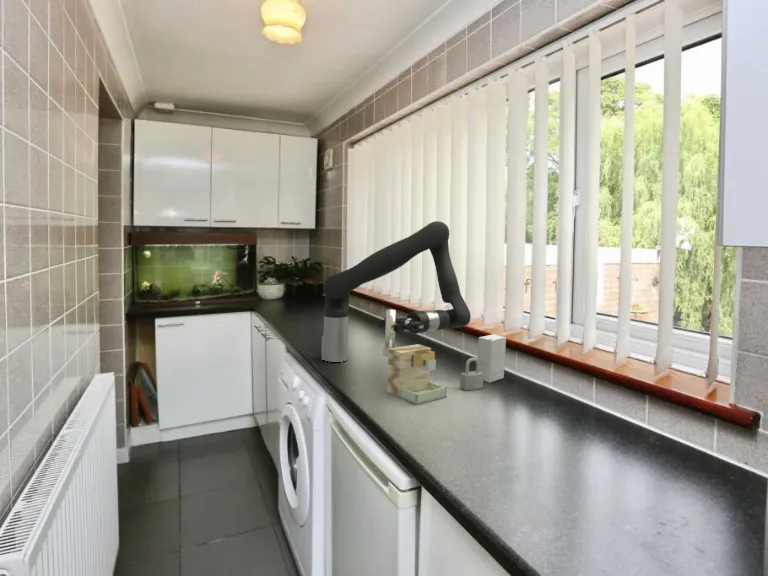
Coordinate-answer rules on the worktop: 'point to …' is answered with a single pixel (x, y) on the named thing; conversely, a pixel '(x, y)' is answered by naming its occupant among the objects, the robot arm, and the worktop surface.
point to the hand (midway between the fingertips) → (385, 325)
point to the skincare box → (491, 357)
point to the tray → (424, 394)
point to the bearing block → (406, 370)
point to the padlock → (471, 377)
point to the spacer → (422, 357)
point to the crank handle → (390, 341)
